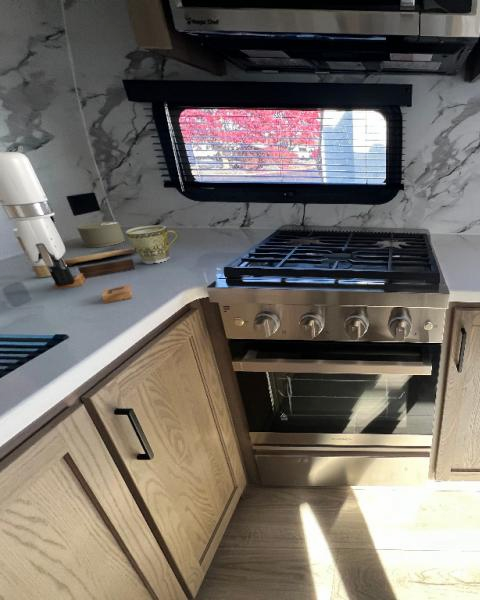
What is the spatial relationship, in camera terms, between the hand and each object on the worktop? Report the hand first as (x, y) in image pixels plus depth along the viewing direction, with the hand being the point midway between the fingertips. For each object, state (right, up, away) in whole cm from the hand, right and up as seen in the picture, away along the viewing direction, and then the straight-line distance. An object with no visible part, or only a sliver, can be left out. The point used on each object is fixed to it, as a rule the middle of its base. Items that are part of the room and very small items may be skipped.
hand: (66, 284), depth 84 cm
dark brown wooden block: (+1, +4, +11) cm, 12 cm away
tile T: (-2, 0, +3) cm, 4 cm away
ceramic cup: (+10, +8, +20) cm, 24 cm away
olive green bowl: (-24, +17, +39) cm, 49 cm away
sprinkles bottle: (-15, +3, +10) cm, 18 cm away
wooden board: (-13, +9, +22) cm, 27 cm away
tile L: (+17, -3, -4) cm, 18 cm away
